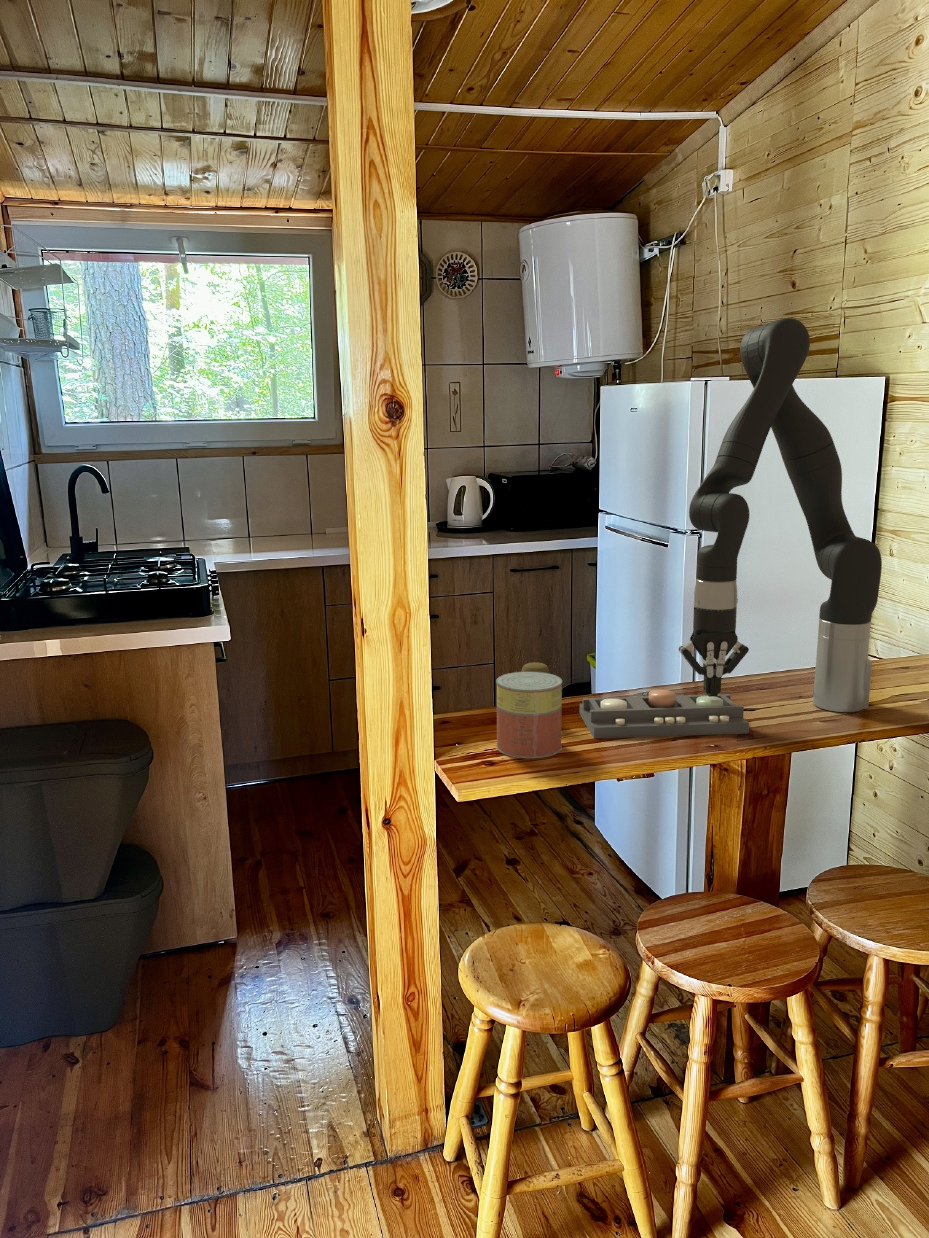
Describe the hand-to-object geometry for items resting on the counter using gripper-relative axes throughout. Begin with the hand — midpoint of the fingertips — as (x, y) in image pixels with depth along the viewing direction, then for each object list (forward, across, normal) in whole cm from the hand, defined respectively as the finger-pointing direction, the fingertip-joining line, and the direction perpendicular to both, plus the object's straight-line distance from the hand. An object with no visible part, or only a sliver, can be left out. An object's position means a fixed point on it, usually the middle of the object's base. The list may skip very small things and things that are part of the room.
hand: (711, 695), depth 171 cm
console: (+5, +9, 0) cm, 11 cm away
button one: (+3, +18, 0) cm, 18 cm away
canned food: (+5, +35, +9) cm, 37 cm away
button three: (+1, +9, 0) cm, 9 cm away
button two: (+3, 0, 0) cm, 3 cm away
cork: (+5, +32, -5) cm, 33 cm away
